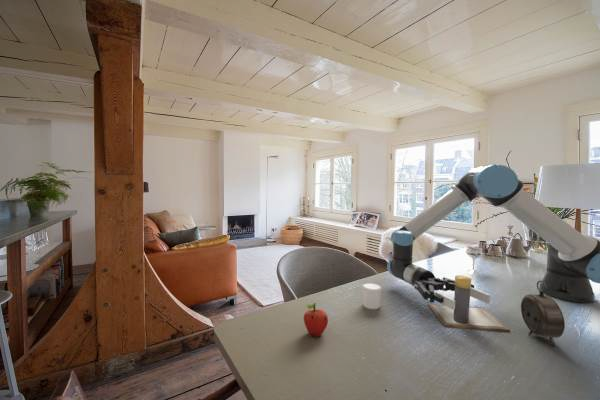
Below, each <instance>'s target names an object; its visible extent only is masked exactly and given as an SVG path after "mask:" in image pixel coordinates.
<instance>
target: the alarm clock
mask: <svg viewBox="0 0 600 400" xmlns="http://www.w3.org/2000/svg"><path fill="white" fill-rule="evenodd" d="M541 282H543V281H542V280H538V281H537V283H536V288H537V290H538V292H539V294H536V293H535V294H533V293H531V294H526V295H524V297H523V298H522V299H521V303H520V312H521V316H522V319H523V321H524V324H525V325H526V327H527V328H528V329H529V333H528V336H529V337H530V336H531V335H532V334H534V335H535V336H538V337H541V338H542V337H543V338H548V339H549V341H550V343H551V346H552V347H553V348H556V345H555V341H554V339H557V338H560V337H561V336H562V335H563V334H564V332H565V325H566V324H565V322H566V321H565V318H564V314H563V312H562V309H561V308H560V306H559V305H558V303H557V302H556V301H555V300H554V298H552V296H550V295H547V294H545V292H546V290H547V286H546V284H545V282H543V283H544V285H545V291H542V290H540V286H539V285H540V283H541Z"/></svg>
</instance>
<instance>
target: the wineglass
mask: <svg viewBox="0 0 600 400" xmlns="http://www.w3.org/2000/svg"><path fill="white" fill-rule="evenodd" d="M465 253H466V255H467V256H468V257H469V258H471V260H472V269H467V272H468V273H470V274H480V272H478V270H475V261H476V259H479V258H481V257H482V256H483V248H482V247H478V246H473V245H471V246H470V245H469V246H466V249H465Z"/></svg>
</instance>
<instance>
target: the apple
mask: <svg viewBox="0 0 600 400" xmlns="http://www.w3.org/2000/svg"><path fill="white" fill-rule="evenodd" d="M316 305H317V303H316V302H313V303H312V304H308V305H307V306H306V307H307V308H308V309H309V310H307V311H305V312H304V314H303V322H304V326H305V328H306V331H307V332H308V334H309V335H310V336H312V337H320V336H321V335H322V334H323V333H324V332H325V330H326V328H327V327H328V322H329V317H328V314H327V313H326V312H325V311H326V310H323V309H316Z"/></svg>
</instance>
